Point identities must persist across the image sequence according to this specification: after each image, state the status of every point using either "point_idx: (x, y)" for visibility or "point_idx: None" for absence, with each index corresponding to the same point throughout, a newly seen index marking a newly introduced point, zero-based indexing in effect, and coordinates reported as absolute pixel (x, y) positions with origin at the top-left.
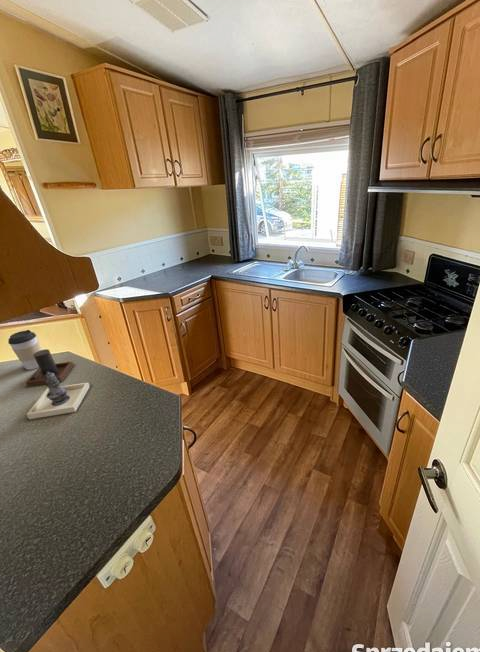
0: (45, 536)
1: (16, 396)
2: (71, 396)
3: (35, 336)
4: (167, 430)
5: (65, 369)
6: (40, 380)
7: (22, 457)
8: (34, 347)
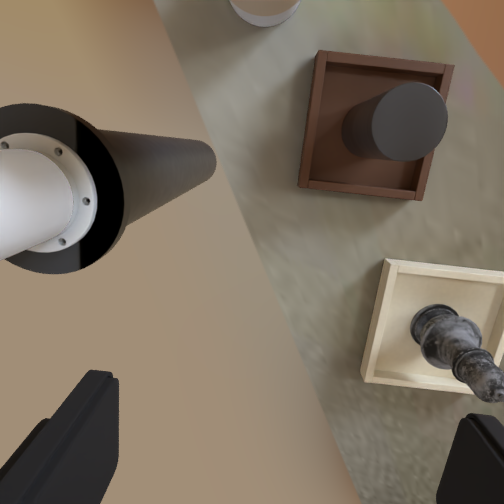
0: None
1: (280, 236)
2: (464, 316)
3: None
4: None
5: None
6: (351, 192)
7: (383, 487)
8: None
